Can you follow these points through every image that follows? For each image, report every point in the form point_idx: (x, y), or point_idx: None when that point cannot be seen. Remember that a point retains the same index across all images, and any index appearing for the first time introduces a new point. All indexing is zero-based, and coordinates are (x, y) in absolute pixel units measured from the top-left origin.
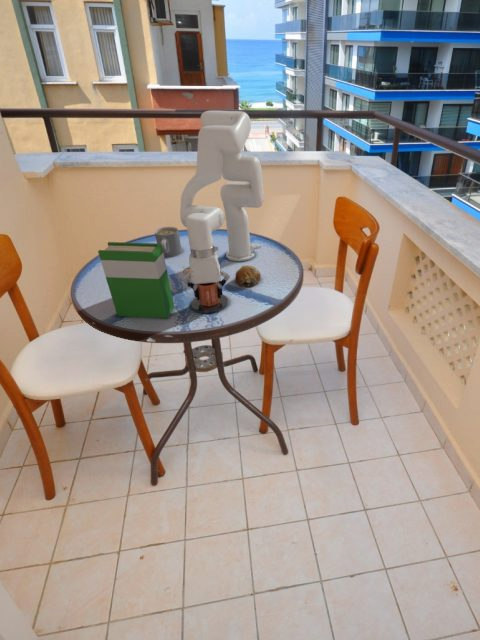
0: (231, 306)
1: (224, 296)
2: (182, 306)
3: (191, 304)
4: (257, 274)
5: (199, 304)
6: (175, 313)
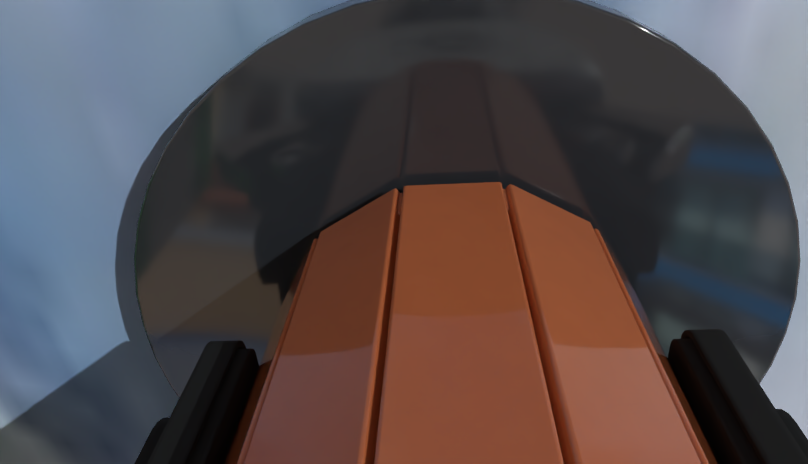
0: (785, 406)
1: (762, 186)
2: (23, 319)
3: (155, 357)
4: None
5: None
6: (9, 453)
